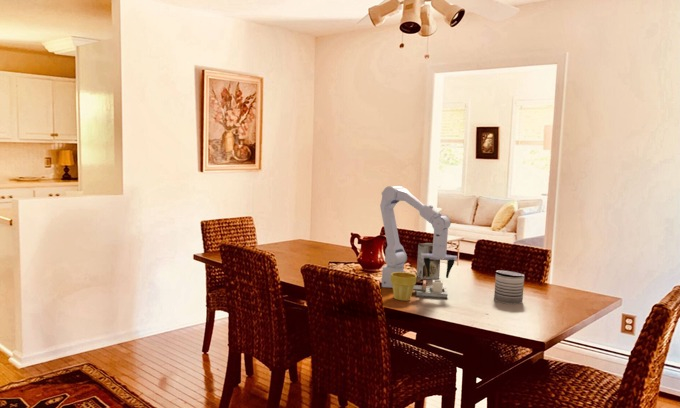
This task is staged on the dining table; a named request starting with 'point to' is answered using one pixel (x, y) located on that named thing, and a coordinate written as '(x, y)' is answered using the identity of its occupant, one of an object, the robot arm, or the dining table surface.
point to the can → (509, 287)
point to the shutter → (420, 288)
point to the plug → (437, 286)
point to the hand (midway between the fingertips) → (437, 276)
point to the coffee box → (421, 267)
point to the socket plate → (432, 293)
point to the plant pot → (403, 285)
